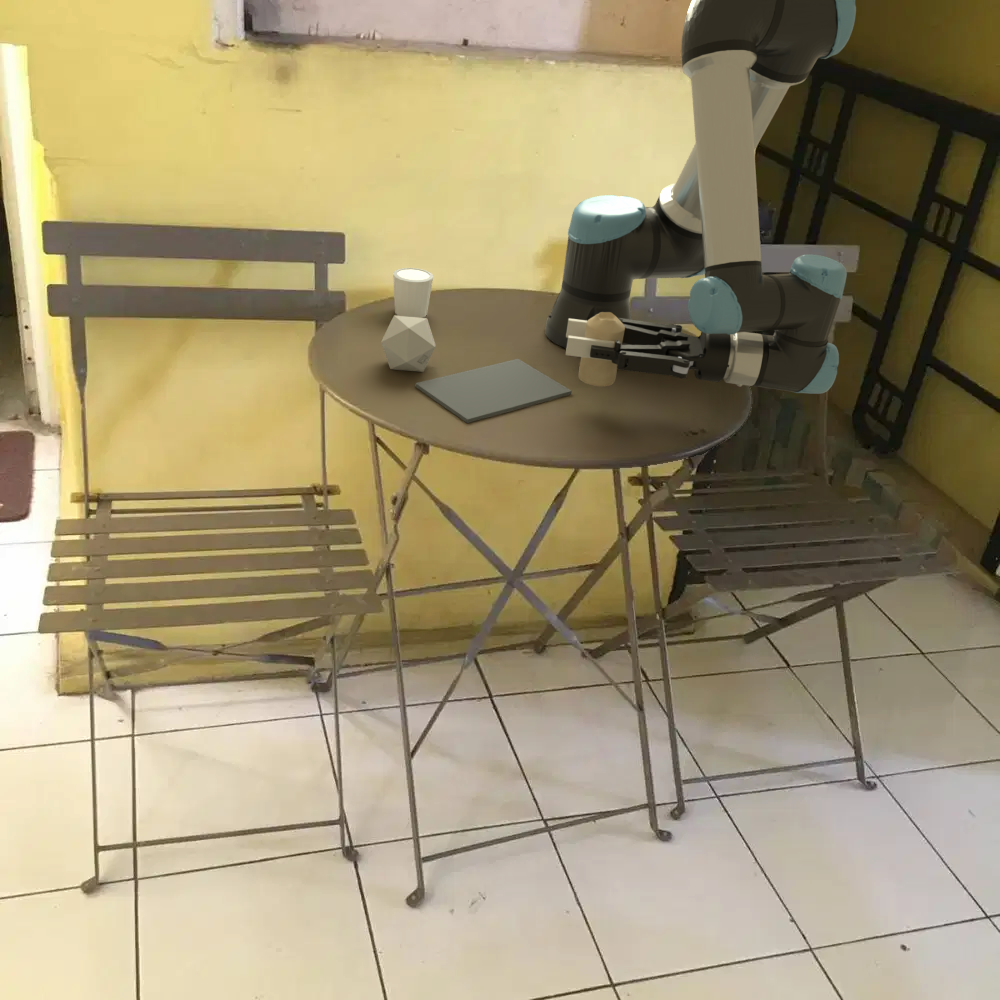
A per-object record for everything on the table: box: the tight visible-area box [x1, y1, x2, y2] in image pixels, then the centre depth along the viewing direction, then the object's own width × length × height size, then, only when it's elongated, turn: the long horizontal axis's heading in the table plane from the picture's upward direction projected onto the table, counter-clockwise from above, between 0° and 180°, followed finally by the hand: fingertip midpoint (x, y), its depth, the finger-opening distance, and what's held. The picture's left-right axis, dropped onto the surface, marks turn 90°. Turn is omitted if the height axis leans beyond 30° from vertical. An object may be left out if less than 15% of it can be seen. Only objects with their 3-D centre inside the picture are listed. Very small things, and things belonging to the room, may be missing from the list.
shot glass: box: [392, 267, 434, 318], centre depth 175 cm, size 7×7×7 cm
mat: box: [415, 358, 573, 424], centre depth 154 cm, size 20×13×1 cm, turn 129°
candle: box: [578, 312, 625, 388], centre depth 148 cm, size 6×6×10 cm
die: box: [380, 314, 436, 373], centre depth 156 cm, size 8×9×10 cm
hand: (567, 336), depth 147 cm, fingers closed on candle, 5 cm apart
